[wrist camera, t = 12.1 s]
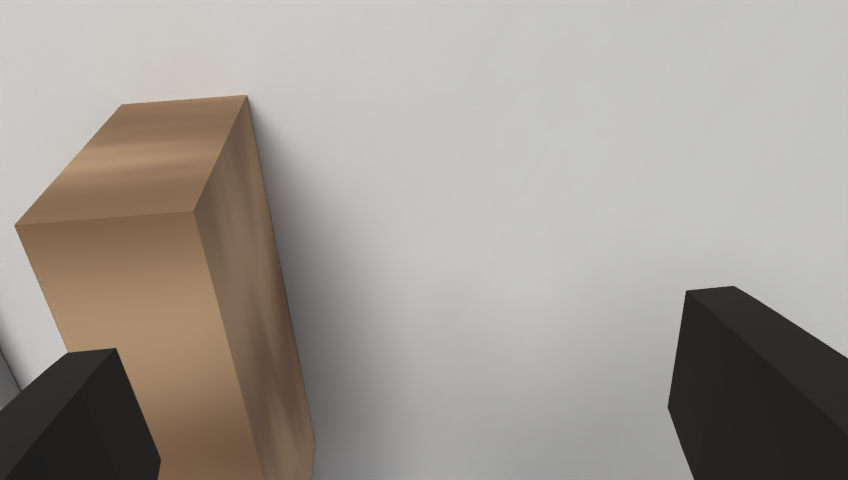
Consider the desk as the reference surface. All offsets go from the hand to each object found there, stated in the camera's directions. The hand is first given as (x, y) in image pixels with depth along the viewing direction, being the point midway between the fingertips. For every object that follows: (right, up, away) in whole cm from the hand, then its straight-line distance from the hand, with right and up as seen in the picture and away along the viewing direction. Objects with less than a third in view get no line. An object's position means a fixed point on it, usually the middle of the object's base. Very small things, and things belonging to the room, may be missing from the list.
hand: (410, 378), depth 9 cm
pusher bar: (-5, 0, +11) cm, 12 cm away
